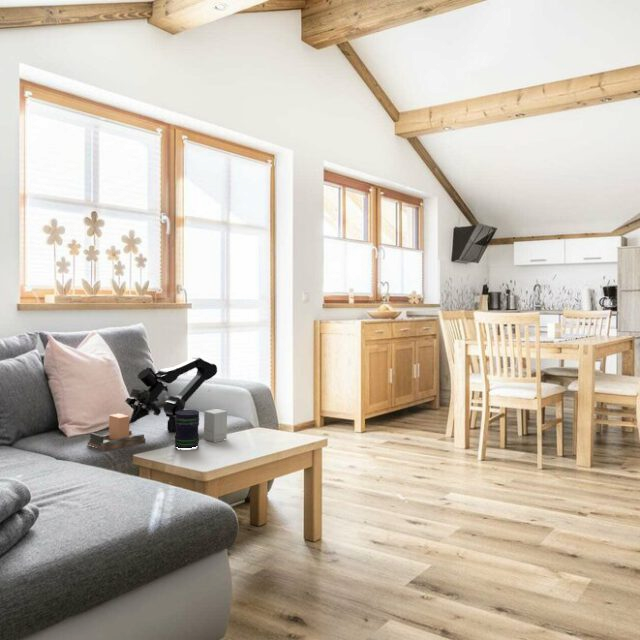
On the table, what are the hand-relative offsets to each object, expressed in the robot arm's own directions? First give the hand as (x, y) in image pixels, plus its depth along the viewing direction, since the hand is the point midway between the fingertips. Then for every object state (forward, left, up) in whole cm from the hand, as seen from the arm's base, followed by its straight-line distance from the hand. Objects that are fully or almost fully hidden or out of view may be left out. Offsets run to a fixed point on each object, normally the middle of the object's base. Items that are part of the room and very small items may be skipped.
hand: (131, 422), depth 278 cm
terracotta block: (+5, +4, -6) cm, 9 cm away
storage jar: (-23, +12, -8) cm, 28 cm away
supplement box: (-36, +1, -8) cm, 37 cm away
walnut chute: (+5, +4, -8) cm, 11 cm away
